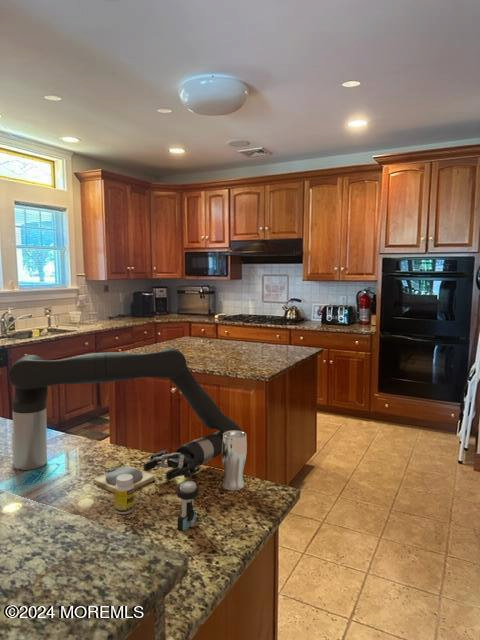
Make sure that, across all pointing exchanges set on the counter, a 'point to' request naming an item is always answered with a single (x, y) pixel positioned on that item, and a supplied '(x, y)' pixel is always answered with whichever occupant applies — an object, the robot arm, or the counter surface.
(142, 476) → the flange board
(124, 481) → the supplement bottle
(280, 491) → the counter surface
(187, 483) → the push button
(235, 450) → the beer glass
